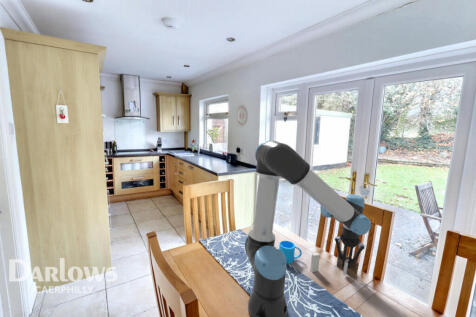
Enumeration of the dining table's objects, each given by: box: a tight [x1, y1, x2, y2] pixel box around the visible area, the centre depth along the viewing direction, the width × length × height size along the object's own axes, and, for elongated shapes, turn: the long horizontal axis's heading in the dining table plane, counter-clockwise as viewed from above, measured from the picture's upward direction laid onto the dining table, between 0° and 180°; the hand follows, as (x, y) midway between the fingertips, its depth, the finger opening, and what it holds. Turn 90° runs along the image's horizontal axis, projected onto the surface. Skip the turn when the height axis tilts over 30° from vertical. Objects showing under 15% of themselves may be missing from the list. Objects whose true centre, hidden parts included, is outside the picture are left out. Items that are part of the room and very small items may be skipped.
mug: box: [278, 240, 303, 264], centre depth 120 cm, size 12×8×8 cm
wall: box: [310, 248, 344, 273], centre depth 113 cm, size 2×20×10 cm, turn 108°
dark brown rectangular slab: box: [338, 253, 360, 280], centre depth 110 cm, size 2×10×8 cm, turn 25°
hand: (345, 273), depth 108 cm, fingers closed
